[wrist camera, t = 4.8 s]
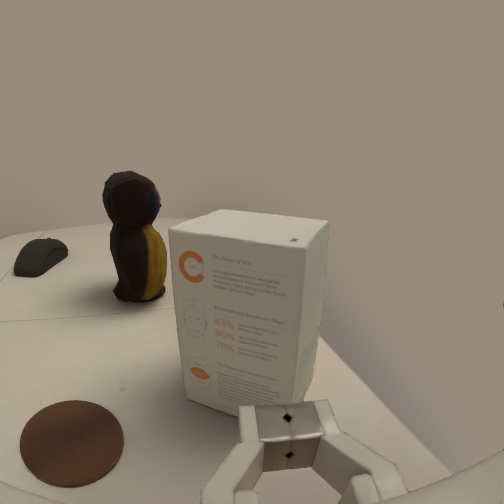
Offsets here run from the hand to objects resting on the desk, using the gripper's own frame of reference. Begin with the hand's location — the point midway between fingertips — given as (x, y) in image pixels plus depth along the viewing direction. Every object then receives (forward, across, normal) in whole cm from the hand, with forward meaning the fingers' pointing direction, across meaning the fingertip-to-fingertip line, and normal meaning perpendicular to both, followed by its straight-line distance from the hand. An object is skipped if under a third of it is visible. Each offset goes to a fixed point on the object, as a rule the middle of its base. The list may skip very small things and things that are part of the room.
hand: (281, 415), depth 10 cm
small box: (+11, 0, +9) cm, 14 cm away
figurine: (+28, +12, +9) cm, 32 cm away
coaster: (+5, +13, +9) cm, 16 cm away
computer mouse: (+39, +33, +9) cm, 52 cm away
